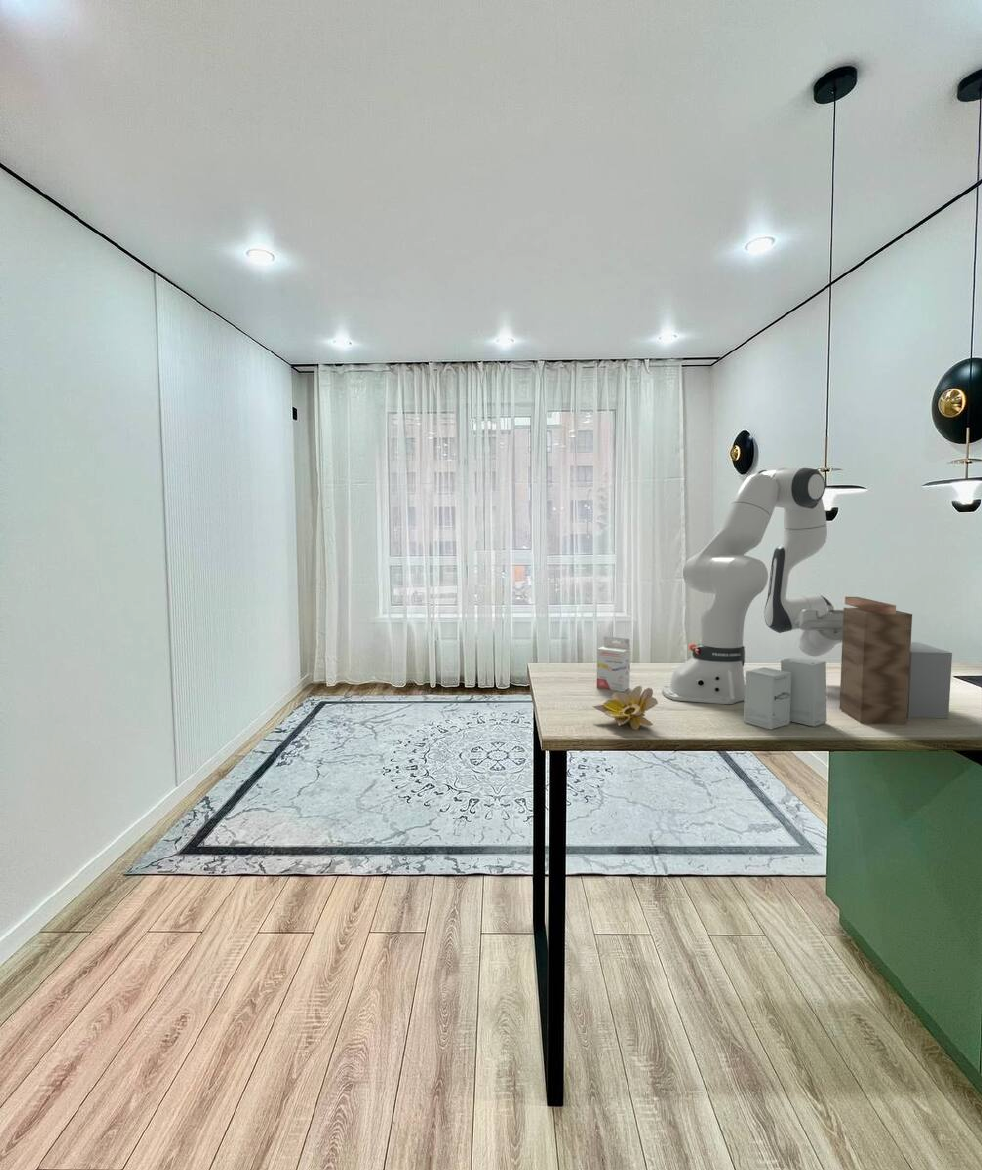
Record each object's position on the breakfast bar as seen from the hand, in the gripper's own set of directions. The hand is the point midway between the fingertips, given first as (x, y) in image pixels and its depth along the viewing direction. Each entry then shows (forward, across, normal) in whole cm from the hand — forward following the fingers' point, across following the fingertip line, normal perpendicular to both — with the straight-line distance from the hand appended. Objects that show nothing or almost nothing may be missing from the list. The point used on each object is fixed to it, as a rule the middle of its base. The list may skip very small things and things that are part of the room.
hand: (849, 608), depth 164 cm
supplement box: (+7, -27, +34) cm, 44 cm away
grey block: (-7, +13, +24) cm, 29 cm away
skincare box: (+5, -18, +32) cm, 37 cm away
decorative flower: (+10, -60, +36) cm, 70 cm away
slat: (+10, 0, +4) cm, 11 cm away
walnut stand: (0, 0, +29) cm, 29 cm away
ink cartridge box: (-19, -61, +18) cm, 66 cm away
